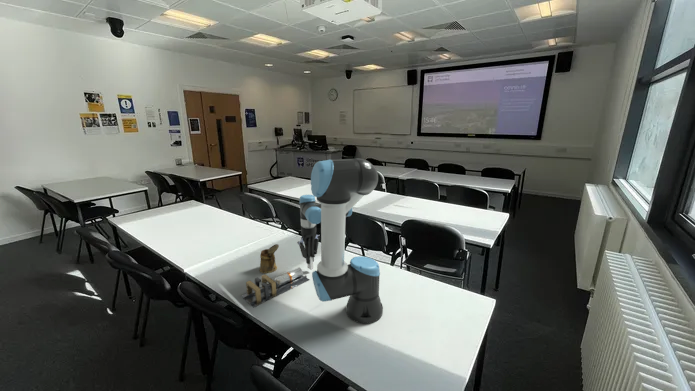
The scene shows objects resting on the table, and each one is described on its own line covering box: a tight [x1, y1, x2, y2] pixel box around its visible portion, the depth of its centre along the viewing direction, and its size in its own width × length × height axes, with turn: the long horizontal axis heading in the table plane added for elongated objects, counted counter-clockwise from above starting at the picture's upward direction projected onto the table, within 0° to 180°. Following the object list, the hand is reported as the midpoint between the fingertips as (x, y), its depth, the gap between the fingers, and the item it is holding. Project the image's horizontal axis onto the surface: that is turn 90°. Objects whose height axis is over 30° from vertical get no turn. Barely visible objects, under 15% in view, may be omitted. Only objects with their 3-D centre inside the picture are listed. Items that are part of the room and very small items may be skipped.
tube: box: [273, 267, 304, 287], centre depth 137 cm, size 14×4×4 cm, turn 135°
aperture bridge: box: [254, 277, 269, 299], centre depth 127 cm, size 9×2×6 cm, turn 45°
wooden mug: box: [259, 243, 280, 274], centre depth 146 cm, size 9×14×18 cm, turn 46°
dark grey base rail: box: [240, 274, 311, 308], centre depth 133 cm, size 12×30×2 cm, turn 135°
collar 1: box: [245, 280, 262, 304], centre depth 124 cm, size 9×2×6 cm, turn 45°
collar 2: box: [260, 273, 277, 296], centre depth 129 cm, size 9×2×6 cm, turn 45°
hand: (310, 268), depth 146 cm, fingers closed
